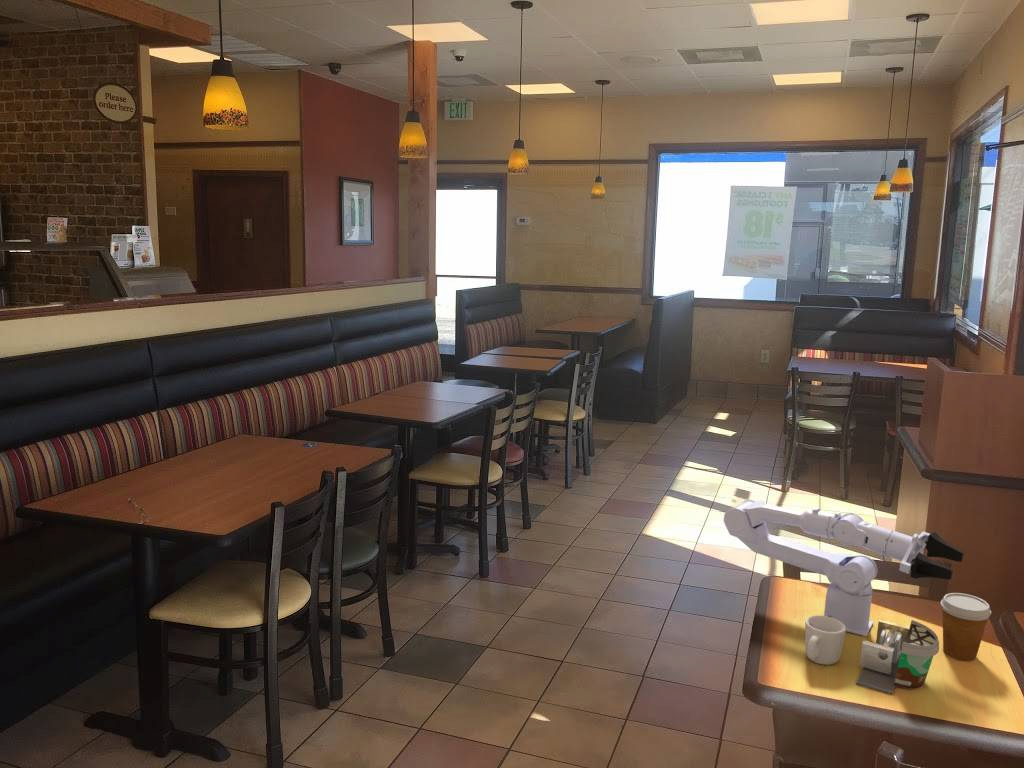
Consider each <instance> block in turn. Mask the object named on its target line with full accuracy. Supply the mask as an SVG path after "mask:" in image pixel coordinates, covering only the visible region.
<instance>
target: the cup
mask: <svg viewBox="0 0 1024 768" xmlns="http://www.w3.org/2000/svg"><path fill="white" fill-rule="evenodd" d="M804 627H805V629H804V630H805V631H804V633H805V653H806V656H807V657H808V658H807V659H810V660H811V661H812V662H814V663H816V664H819V665H824V666H829V665H830V666H831V665H834V664H836V663H838V662H839V659H840V657H841V653H842V648H843V645H844V644H843V643H844V640H845V636H846V632H847V631H846V627H845V625H844V624H843V623H842V622H841V621H839V620H837V619H834V618H831V617H827V616H824V615H811V616H808V617H807V618H806V619H805V623H804Z"/></svg>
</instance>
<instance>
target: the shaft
mask: <svg viewBox="0 0 1024 768" xmlns="http://www.w3.org/2000/svg"><path fill="white" fill-rule="evenodd" d="M898 633H899V632H895V631H892V630H888V632H887V633H886V638H885V641H884V643H883V645H879V644H876V642H873V641H868V640H863V641H862V643H861V651H860V652H861V653H860V662H859V666H860V667H863V668H864V667H865V668H868V669H872V670H876V671H879V672H883V673H886V674H891V671H892V664H893V655H894V648H892V647H893V644H894V642H895V641H896V638H897V636H898Z"/></svg>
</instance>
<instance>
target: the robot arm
mask: <svg viewBox="0 0 1024 768" xmlns="http://www.w3.org/2000/svg"><path fill="white" fill-rule="evenodd" d="M767 522H769V523H774V524H780V525H787V526H792V527H800V529H801V530H802V531H803V532H804V533H805V534H809V535H812V536H817V537H821V538H826V539H832V540H834V539H835V540H836V541H838V542H839V543H840V545H841V546H843V547H849V546H852V545H855V546H857V547H860V548H863V549H866V550H868V551H871V552H874V553H876V554H880V555H883V556H885V557H888V558H891V559H895V560H896V561H897V560H898V561H900V564H899V572H901V573H905V574H907V575H909V574H910V578H913V579H922V578H930V579H931V578H935V579H942V580H943V579H945V580H952V577H953V572H954V570H953V569H952V568H950V567H949V566H946V565H943V564H942V563H939V562H936V561H934V560H933V559H930V558H941V559H942V558H943V559H946V560H951V561H954V562H960V563H962V561H963V559H964V553H965V552H964V551H962V550H960V549H958V548H957V547H955V546H953V545H952V544H951V543H949V542H947V541H946V540H945V539H943V538H942V537H941V536H940V535H939V534H938V533H937V532H935V531H931V532H930V533H928V532H927V531H922V532H920V533H919V534H918V533H914V534H913V536H910V535H908V534H905V533H902V532H899V531H895V530H893V529H889V528H886V527H884V526H879V525H877V524H874V523H870V522H867V521H864V519H863V518H862V517H861V516H859V515H857V514H854V513H852V512H848V513H846V514H843V515H842V513H841V512H838V511H836V512H835V513H832V512H828V511H822V510H821V508H820V507H816V506H815V507H812V508H808V509H806V510H805V511H804V512H801V511H798V510H793V509H791V508H790V509H789V508H785V507H781V506H778V505H773V504H770V503H767V502H764V501H761V500H756V501H755V500H753V499H746V500H744V501H743V502H741V503H740V504H738V505H736V506H734V507H731V508H729V509H727V510H726V511H725V513H724V515H723V523H724V525H725V528H726V529H727V532H728V534H729V536H732V537H735V538H737V539H738V540H739V541H740V542H742V543H743V544H744V545H745V546H746V547H747V548H748V549H750V551H752V552H754V553H755V554H759V555H761V556H765V557H768V558H771V559H773V560H776V561H780V562H783V563H786V564H789V565H791V566H795V567H798V568H800V569H804V570H807V571H810V572H814V573H816V574H819V575H822V576H825V577H826V578H827V580H828V582H829V585H828V587H827V589H826V595H825V600H824V601H825V602H824V603H825V604H824V610H823V611H824V613H823V616H827V617H831V618H834V619H837V620H839V621H841V622H842V623H843V624H844V625H845V627H846V632H849V633H852V634H855V635H859V636H863V637H866V636H868V634H869V633H870V631H871V628H872V627H873V624H874V621H873V620H870V616H871V615H870V614H871V608H872V607H871V606H872V599H873V598H872V597H873V591H874V589H873V586H872V582H873V580H874V579H876V577H877V574H878V567H877V563H876V561H874V560H873V559H872V558H871V557H869V556H867V555H865V554H864V555H863V554H857V555H851V554H848V553H840V554H839V553H835V554H834V553H831V552H828V551H824V550H823V549H822V550H821V549H819V548H815V547H812V546H809V545H805V544H803V543H800V542H796V541H793V540H789V539H787V538H784V537H779V536H776V535H773V534H771V533H770V531H769V529H768V526H767ZM924 550H926V551H927V553H926V555H925V554H923V552H924Z"/></svg>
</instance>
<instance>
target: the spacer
mask: <svg viewBox="0 0 1024 768" xmlns="http://www.w3.org/2000/svg"><path fill="white" fill-rule="evenodd" d="M883 629H886V630H888V631H889V630H892V631H895V632H899V633H901V634H902V637H901V645H900V651H901V649H902V645H903V642H905V640H906V637H907V634H908V632H909V629H910V625H904V624H901V623H898V622H897V623H896V622H892V621H888V620H884V619H878V622H877V630H876V641H875V643H876V644H879V643H880V635H881V633H882V631H883ZM895 642H896V640H895Z"/></svg>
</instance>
